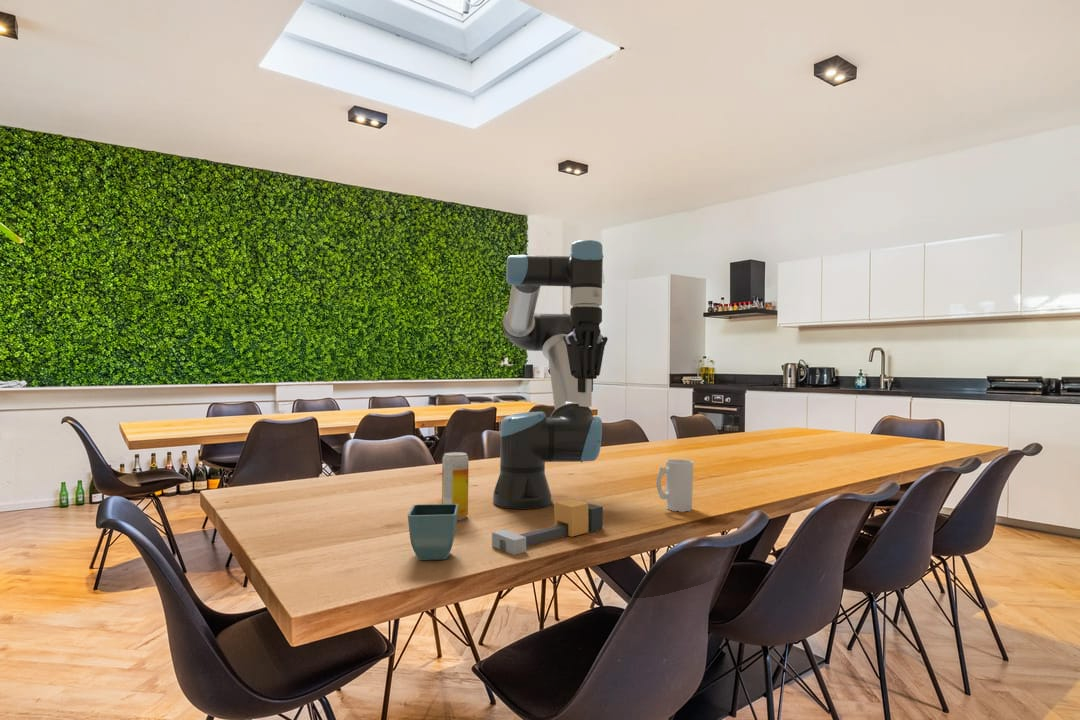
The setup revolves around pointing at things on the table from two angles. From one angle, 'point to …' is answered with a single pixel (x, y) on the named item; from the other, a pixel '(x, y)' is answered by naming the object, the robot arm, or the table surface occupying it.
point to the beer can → (455, 481)
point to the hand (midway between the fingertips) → (585, 406)
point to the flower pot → (432, 530)
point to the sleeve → (572, 516)
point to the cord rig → (542, 533)
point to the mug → (677, 484)
